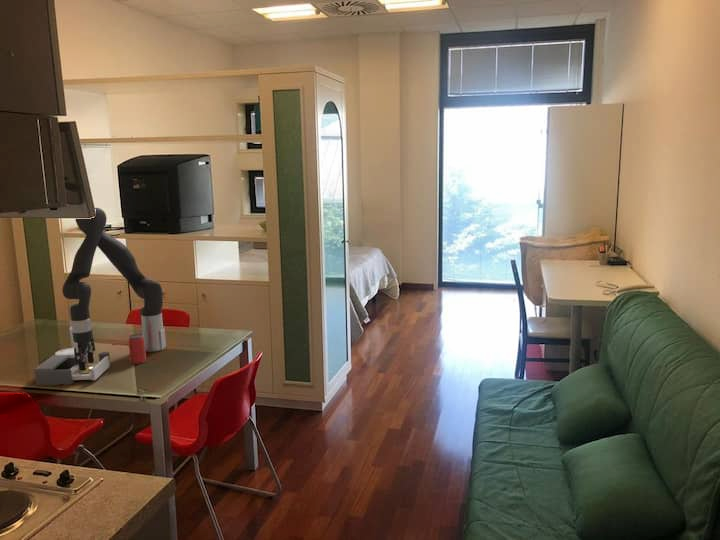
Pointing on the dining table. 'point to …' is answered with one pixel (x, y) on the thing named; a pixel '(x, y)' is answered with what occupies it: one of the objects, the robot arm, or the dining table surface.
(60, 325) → the dining table surface
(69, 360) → the housing
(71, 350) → the ramekin
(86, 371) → the disc
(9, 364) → the dining table surface
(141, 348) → the beer can
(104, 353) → the cylinder
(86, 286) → the robot arm
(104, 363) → the tray
